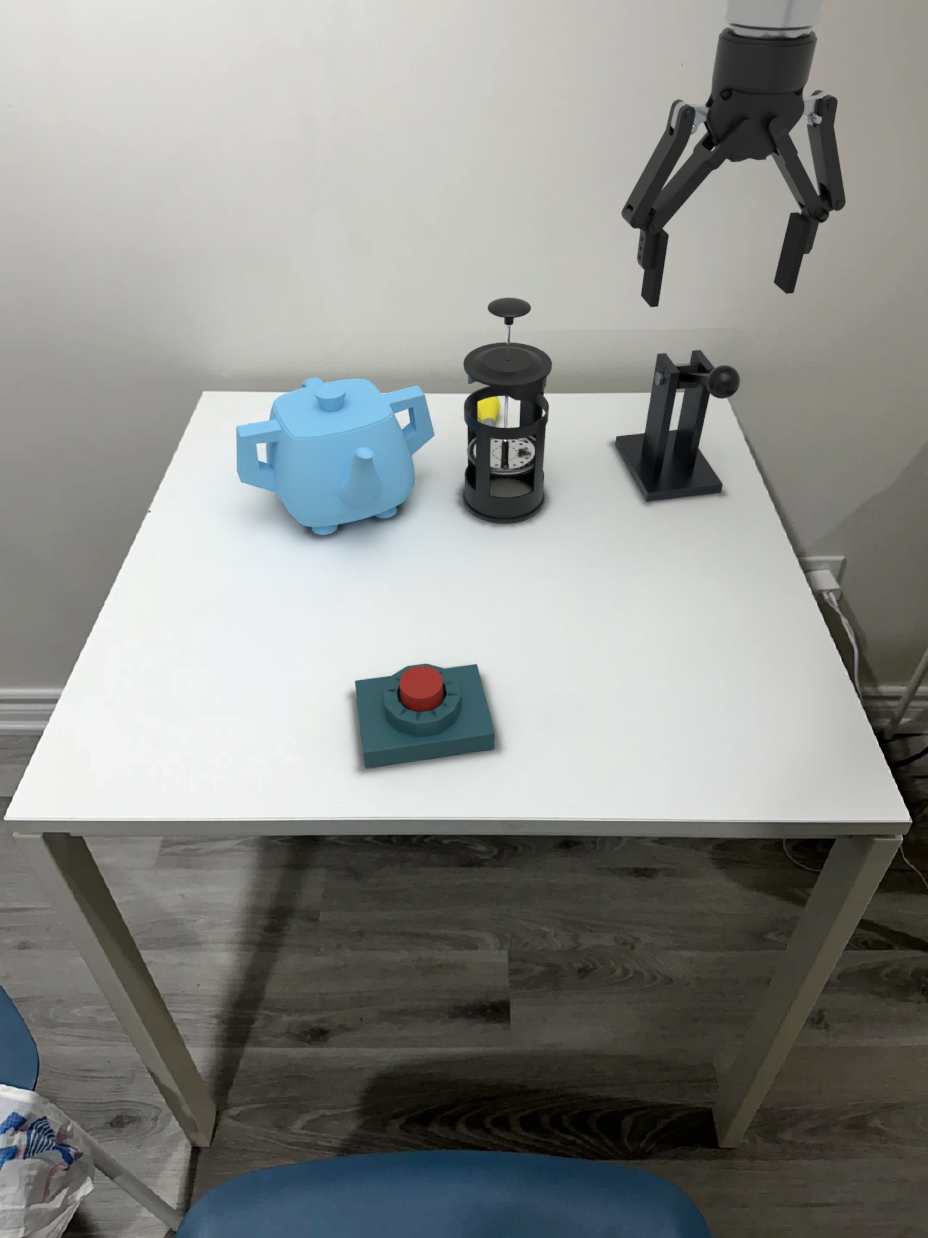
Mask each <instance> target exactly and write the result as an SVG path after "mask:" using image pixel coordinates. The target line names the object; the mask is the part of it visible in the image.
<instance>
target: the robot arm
mask: <svg viewBox="0 0 928 1238" xmlns="http://www.w3.org/2000/svg"><path fill="white" fill-rule="evenodd" d="M826 5H827V0H724V4H723V10H722V16H721V18H722V20H723V21H724V23H725V24H727V25H728V26H727V27H725V28H724V29H723V28H722V31H721V32H720V33H719V34H718V39H717V46H716V52H715V58H714V63H713V64H714V65H713V70H712V76H711V90H710V94H709V96H708V99H707V101H706V102H705V104H696V103H695V104H693V103H687V102H686V101H684V100H683V99H680V98H679V99H676V100H674V101H672V103H671V106H670V110H669V114H668V118H667V121H666V122H667V123H666V125H665V130H664V132H663V134H662V136H661V137H660V139H659V141H658V143H657V145H656V147H655V148H654V150H653V152H652V154H651V155H650V158H649V159H648V160H647V161H648V162H647V163H646V165H645V167H644V169H643V170H642V172H641V174H640V176H639V178H638V180H637V182H636V183H635V185H634V187H633V189H632V190H631V193H630V194H629V196H628V198H627V200H626V202H625V204H624V205H623V208H622V209H621V217H622V218H623V220H624V221H625V222H626V223H627V224H628V225H629V226H630V227H631V228H632V229H639V238H638V246H637V254H636V260H637V265H639V266H640V268H641V269H642V270H643V277H642V283H641V292H640V296H641V298H642V299H643V300H644V302H645V303H646V304H647V305H648V306H649V307H650V308H658V307H659V306H660V305H659V304H660V299H661V298H660V297H661V291H662V285H663V277H664V271H665V264H666V257H667V250H668V243H669V239H670V238H669V237H670V234H669V233H668V232H667V231H666V230H665V229H664V227H666V225H667V224H668V223H669V221H671V219H672V218H673V217H674V216H675V215H676V214H677V212H679V210H680V209H681V208H682V206H684V204H685V203H686V202H687V201H688V200H689V199H690V197H691V196H692V195H693V194H694V193H695V192H696V190H697V189H698V188H699V187H700V186H701V184H702V183H704V181H705V180H706V179H707V178H708V176H709V175H711V173H712V172H713V171H715V170H717V169H719V168H720V167H721V166H722V164H724V162H725V161H726V160H727V161H729V162H731V163H740V162H743V161H746V160H748V159H751V160H755V161H765V160H767V157H770V156H771V157H772V159H773V161H774V162H775V164H776V167H777V169H778V170H779V172H780V174H781V176H782V177H783V180H784V181H785V183H786V185H787V187H788V189H789V190H790V193H791V194H792V196H793V198H794V200H795V202H796V204H797V206H798V207H799V209H800V211H801V212H799V211H795V212H794V211H793V212H790V213H789V215H788V221H787V225H786V230H785V233H784V237H783V242H782V246H781V250H780V254H779V257H778V258H779V259H778V263H777V267H776V271H775V275H774V279H773V284H774V285H776V287H778V288H779V289H780V290H781V291H782V292H783V293H785V294H786V295H790V294H794V293H795V290H796V285H797V281H798V278H799V273H800V269H801V266H802V262H803V258H804V255H809V254H810V253H811V252H812V249H813V247H814V245H815V241H816V237H817V233H818V229H819V225H820V224H823V223H826V221H827V220H828V219H829V217H830V212H832V211H833V212H834V211H835V212H840V211H841V210H842V209H844V207H845V206H846V203H847V201H846V194H845V188H844V181H843V174H842V168H841V162H840V156H839V155H840V154H839V150H838V143H837V137H836V131H835V122H836V115H837V109H838V99H837V97H835V96H833V95H831V94H829V93H828V92H825V91H823V90H821V89H817V90H814V91H813V92H812V93H811V95H809V96H805V97H804V89H805V87H806V85H807V83H808V81H809V77H810V73H811V69H812V64H813V59H814V57H815V51H816V46H817V43H818V37H817V35H816V34H817V33H816V32H815V30H813V28H814V27H817V26H819V25H820V24H821V23H822V22H823V19H824V14H825V9H826ZM801 119H802V120H803V122H804V123H805V124H806V128H807V136H808V141H809V146H810V152H811V157H812V162H813V169H814V174H815V179H816V185H817V190H818V191H817V190H816V188H815V187H814V184H813V182H812V181H811V179H810V177H809V175H808V172H807V170H806V168H805V166H804V164H803V163H802V160H801V158H800V157H799V155H798V154H799V151H798V149H797V148H796V145H795V143H794V142H793V139H792V137H791V135H790V132H792V130H793V129H794V128H795V126H796V125H797V123H799V121H800V120H801ZM702 123H703V125H704V127H705V129H706V132H705V133H704V135H703V136H702V137H701V138H700V139H699V140H698V142H697V143H696V144H695V145H694V147H693V148H692V149H693V150H692V153H691V154H690V155H689V157H688V158H687V160H685V162H684V163H683V164H682V165H681V166H680V168H679V169H678V170H677V171H676V172H675V173H674V175H673V176H672V177H671V178H670V176H671V174H672V172H673V171H674V169H675V167H676V166H677V164H678V162H679V160H680V159H681V156H682V154H683V152H684V151H685V149H686V147H687V145H688V143H689V140H690V138H691V135H693V134H695V133H697V131H698V127H699V126H700V125H701V124H702ZM669 178H670V179H669ZM668 180H669V181H668ZM667 181H668V182H667Z"/></svg>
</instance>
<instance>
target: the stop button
mask: <svg viewBox="0 0 928 1238" xmlns="http://www.w3.org/2000/svg"><path fill="white" fill-rule="evenodd" d="M400 694H401V700H402V702H403V704H404V705H405V706H406V707H407V708H409V709H411V710H413V711H418V712H424V711H429V710H432V709H434V708H435V707H437V706H438V705H439V704H440V703H441V701H442V699H443V680H442V677H441V675H440V673H439V672H438V671H436V670H435V669H433V668H431V667H427V666H417V667H413V668H411V669H409V670H407V671H406V672H405V673H404V674H403V675H402V676H401V678H400Z"/></svg>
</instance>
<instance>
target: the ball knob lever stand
mask: <svg viewBox="0 0 928 1238" xmlns="http://www.w3.org/2000/svg"><path fill="white" fill-rule="evenodd" d="M689 364H697V365H698V373H706V374H709V373H710V372H711V371H712V370H713V369H714V368H715V366H714V365H713V363H712V362H711V361H710V360H709V359H708V357H707V356H706V355H705V353H704V352H703V351H702V350H701V349H695V350H693V349H692V350H691V353H690V359H689ZM675 365H676V364H675V363H674V362H673V361H672V360H671V358H670V357H669V354H667V353H666V352H661V353H657V354H656V361H655V365H654V373H653V379H652V383H651V390H650V398H649V402H648V404H649V405H648V408H647V416H646V422H645V428H644V432H643V433H634V434H624V435H616V436H615V441H614V442H615V443H614V445H615V447H616V448H617V450H618V452H619V454H620V456H621V459H622V460H623V461H624V463H625V465H626V467H627V469H628V470H629V472H630V474H631V476H632V477H633V480H634V481H635V483H636V485H637V487H638V489H639V490H640V492H641V494H642V496H643V498H644V499H645V501H646V502H652V501H653V502H654V501H661V500H669V499H678V498H679V499H680V498H688V497H695V496H704V495H711V494H721V493H722V491H723V486H724V483H723V482H722V480H721V479H720V477H719V476H718V474H717V473H716V472H715V470H714V469H713V467H712V466H711V464H710V463H709V461H708V460H707V458H706V457H705V455H704V454H703V452H702V450H700V442H701V438H702V434H703V428H704V424H705V419H706V415H707V409H708V404H709V400H710V396H711V394H710V393H709V391H708V389H707V386H706V385H699V384H698V387H696V388H686V389H684V390H683V396H682V402H681V407H680V413H679V416H678V417H679V418H678V423H677V428H676V429H670V428H671V422H672V417H673V411H674V406H675V400H676V395H677V391H678V389H677V385H678V380H679V374H680V372H679V370H678V369H677V368H676V366H675Z"/></svg>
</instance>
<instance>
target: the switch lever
mask: <svg viewBox="0 0 928 1238" xmlns="http://www.w3.org/2000/svg"><path fill="white" fill-rule="evenodd" d="M674 365H675V366H676V368H677V369H678V370H679V372H680V374H679V380H678V385H677V390H685V389H686V388H696V387H698V384H699V385H706V386H707V389H708V391H709V393H710V396H712V397H714V398H716V399H720V400H721V399H724V400H725V399H728V398H731V397H732V396H734V395H735V394H736V393H737V391H738V390H739V388H740V385H741V375H740V373H739V371H738V370H737V369H736V368H735V367H733V366H731V365H728V364H721V365H718V366H715V367H714V369H713V370H712V371H711V372H710V373H709V374H706V373H698V365H697V364H690V363H688V362H687V363H678V364H674Z"/></svg>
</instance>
